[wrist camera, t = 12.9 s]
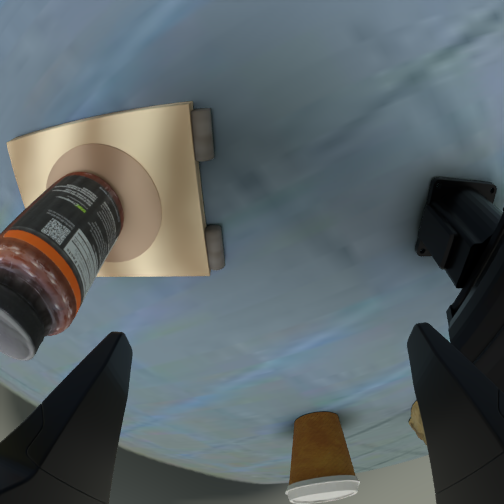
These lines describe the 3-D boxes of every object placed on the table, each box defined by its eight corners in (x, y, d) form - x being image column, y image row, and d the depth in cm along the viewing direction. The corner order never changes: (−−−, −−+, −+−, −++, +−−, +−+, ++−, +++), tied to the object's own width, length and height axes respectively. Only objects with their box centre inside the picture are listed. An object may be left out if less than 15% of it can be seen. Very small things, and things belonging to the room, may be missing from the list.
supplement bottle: (58, 238, 21) (-21, 353, 12) (49, 164, 17) (-65, 268, 8) (128, 251, 21) (65, 387, 12) (127, 172, 18) (26, 300, 9)
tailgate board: (211, 99, 17) (207, 102, 16) (226, 265, 24) (224, 277, 23) (15, 137, 17) (4, 143, 16) (58, 267, 24) (51, 277, 23)
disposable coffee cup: (270, 428, 41) (271, 503, 31) (308, 401, 36) (316, 490, 26) (322, 435, 43) (329, 503, 33) (363, 410, 38) (376, 487, 28)
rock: (427, 431, 42) (469, 410, 36) (412, 468, 36) (459, 450, 30) (390, 399, 45) (431, 373, 39) (372, 435, 39) (417, 413, 33)
